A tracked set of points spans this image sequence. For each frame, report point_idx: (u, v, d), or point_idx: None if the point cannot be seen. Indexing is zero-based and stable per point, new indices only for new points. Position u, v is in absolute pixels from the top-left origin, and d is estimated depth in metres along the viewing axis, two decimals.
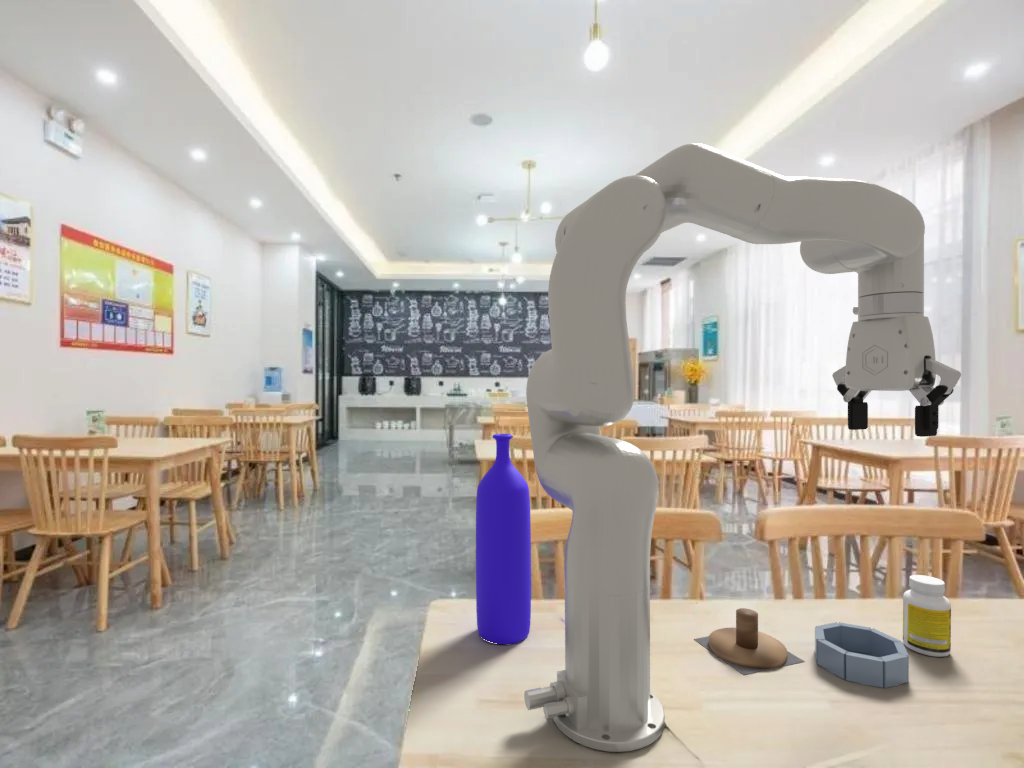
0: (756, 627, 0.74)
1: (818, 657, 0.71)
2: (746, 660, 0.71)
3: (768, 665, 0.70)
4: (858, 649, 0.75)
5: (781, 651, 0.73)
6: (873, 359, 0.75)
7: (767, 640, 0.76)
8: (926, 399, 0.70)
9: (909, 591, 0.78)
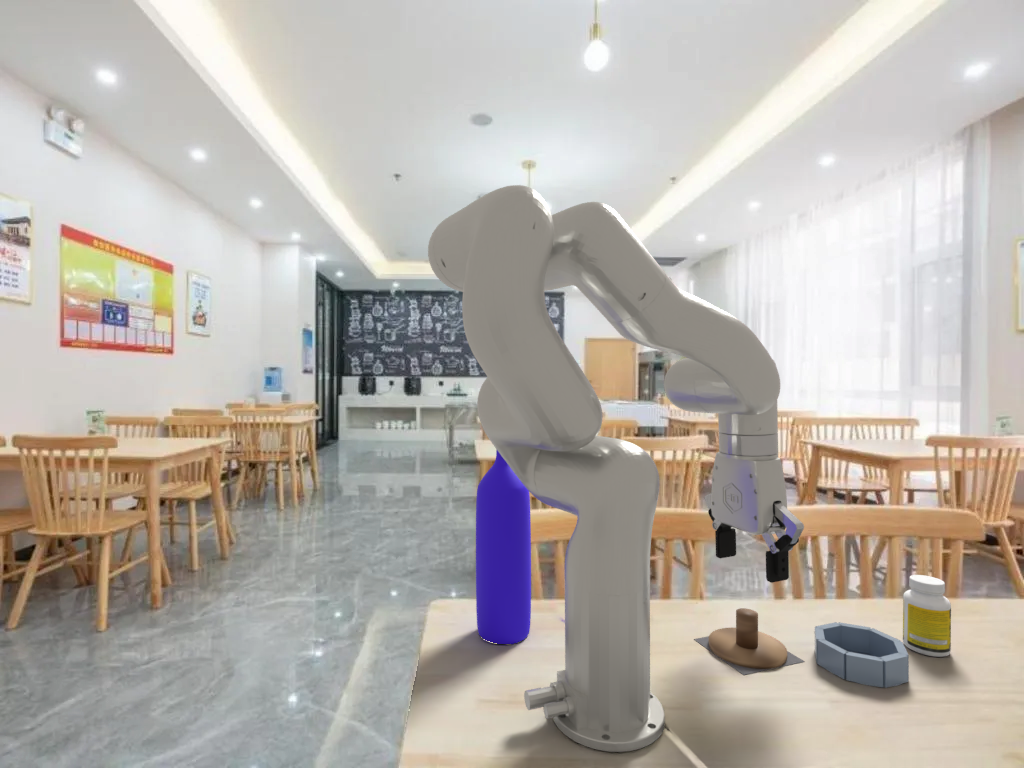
0: (756, 627, 0.74)
1: (818, 657, 0.71)
2: (746, 660, 0.71)
3: (768, 665, 0.70)
4: (858, 649, 0.75)
5: (781, 651, 0.73)
6: (731, 497, 0.75)
7: (767, 640, 0.76)
8: (774, 547, 0.70)
9: (909, 591, 0.78)
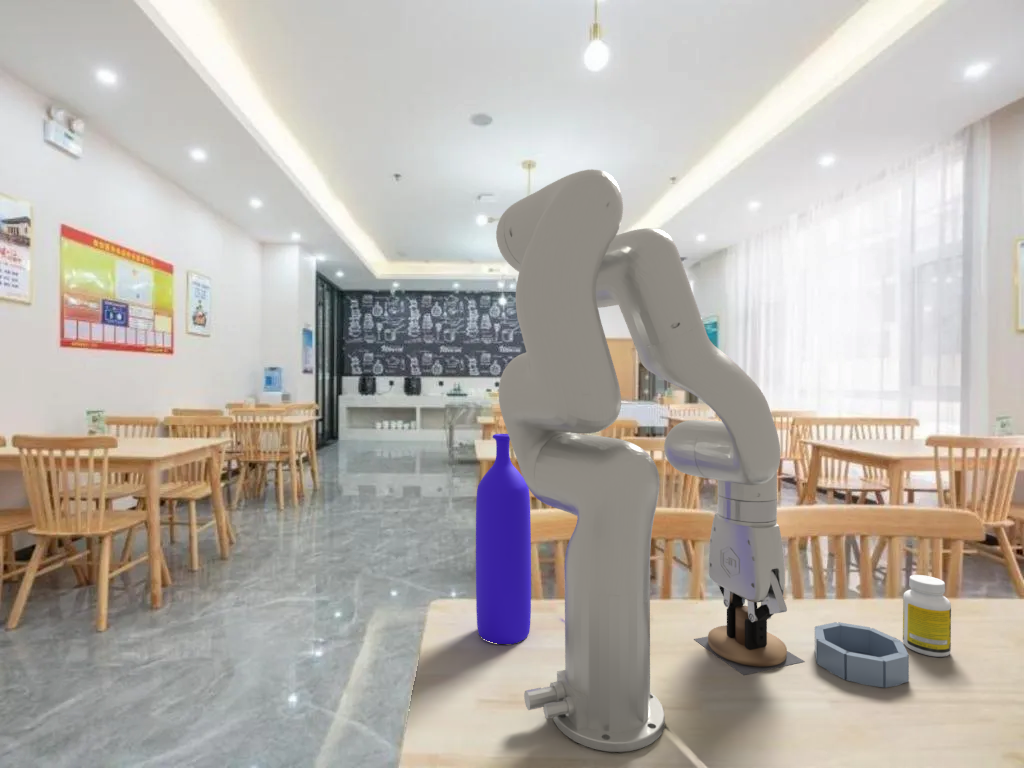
0: None
1: (818, 657, 0.71)
2: (745, 657, 0.71)
3: (767, 662, 0.70)
4: (858, 649, 0.75)
5: (780, 649, 0.73)
6: (728, 561, 0.75)
7: None
8: (753, 617, 0.72)
9: (909, 591, 0.78)
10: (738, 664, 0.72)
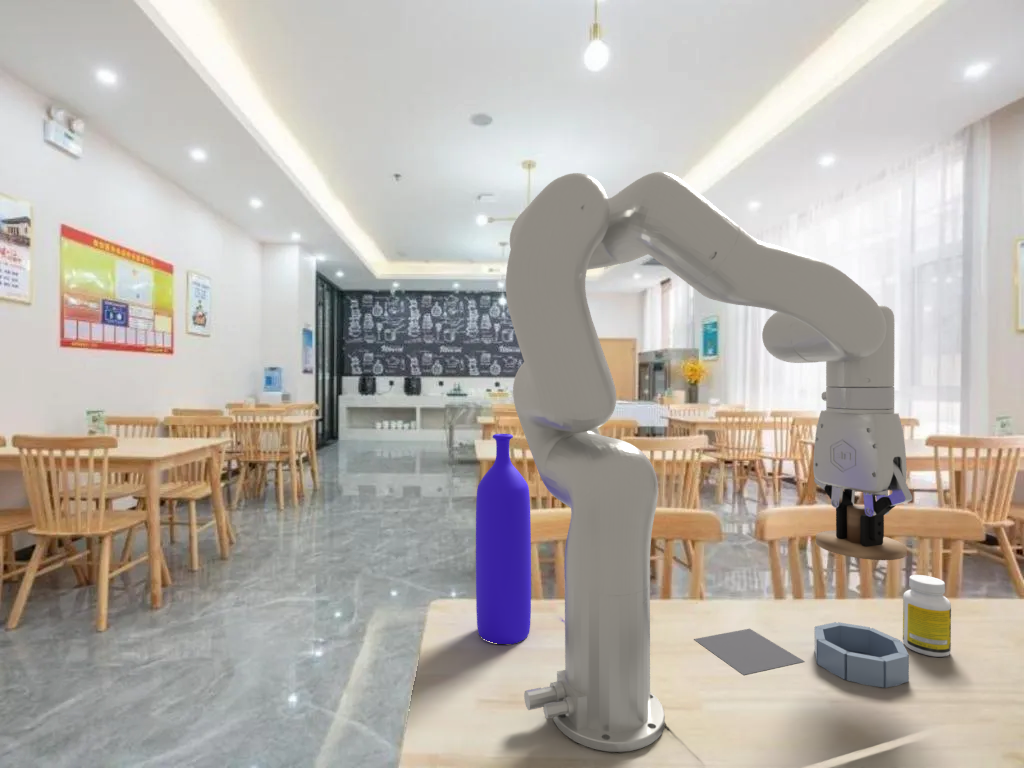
0: None
1: (818, 657, 0.71)
2: (865, 552, 0.67)
3: (890, 556, 0.66)
4: (857, 649, 0.75)
5: (899, 546, 0.69)
6: (841, 455, 0.70)
7: None
8: (872, 511, 0.68)
9: (909, 591, 0.78)
10: (738, 664, 0.72)
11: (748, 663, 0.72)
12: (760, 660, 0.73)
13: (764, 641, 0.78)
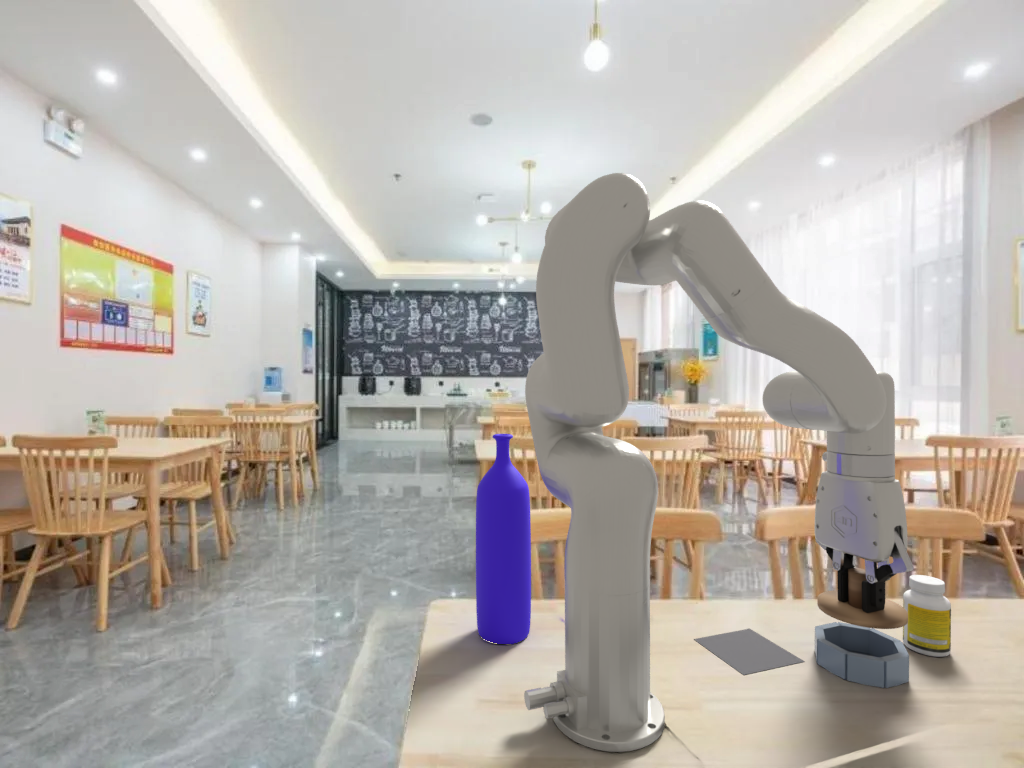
0: None
1: (819, 657, 0.71)
2: (867, 620, 0.67)
3: (892, 625, 0.66)
4: (857, 649, 0.75)
5: (901, 611, 0.69)
6: (842, 520, 0.70)
7: None
8: (873, 578, 0.68)
9: (909, 591, 0.78)
10: (738, 664, 0.72)
11: (748, 663, 0.72)
12: (760, 660, 0.73)
13: (764, 641, 0.78)
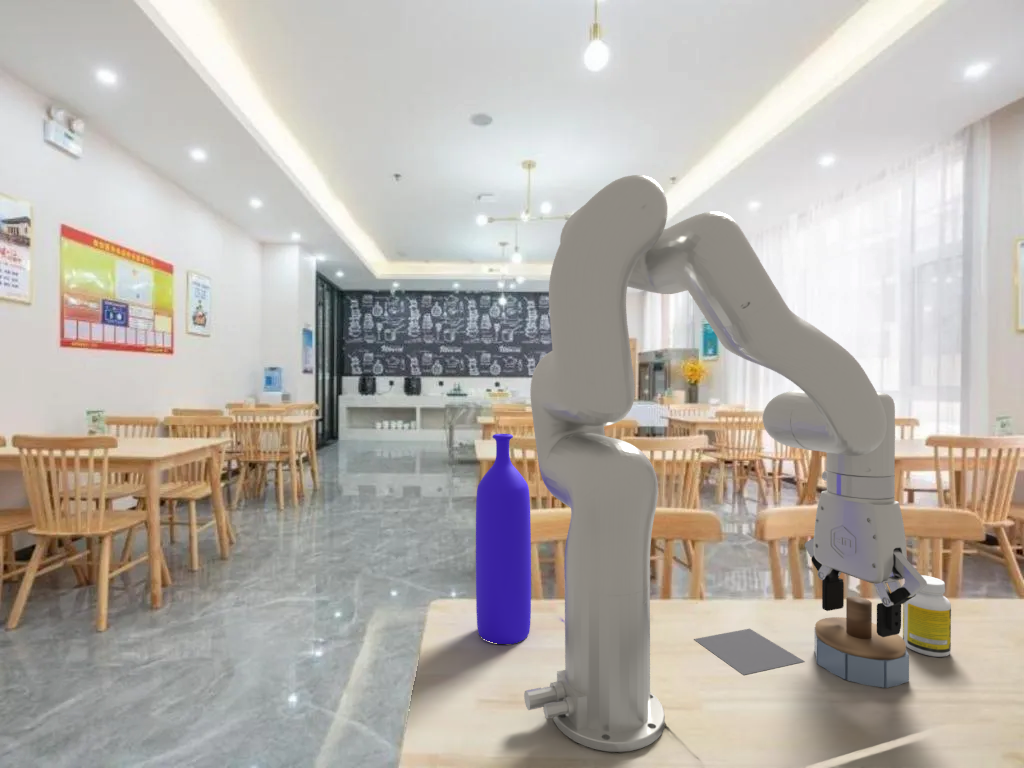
0: (870, 616, 0.70)
1: (819, 657, 0.71)
2: (864, 650, 0.67)
3: (889, 655, 0.66)
4: None
5: (898, 642, 0.69)
6: (841, 541, 0.70)
7: None
8: (888, 600, 0.66)
9: None
10: (738, 664, 0.72)
11: (748, 663, 0.72)
12: (760, 660, 0.73)
13: (764, 641, 0.78)
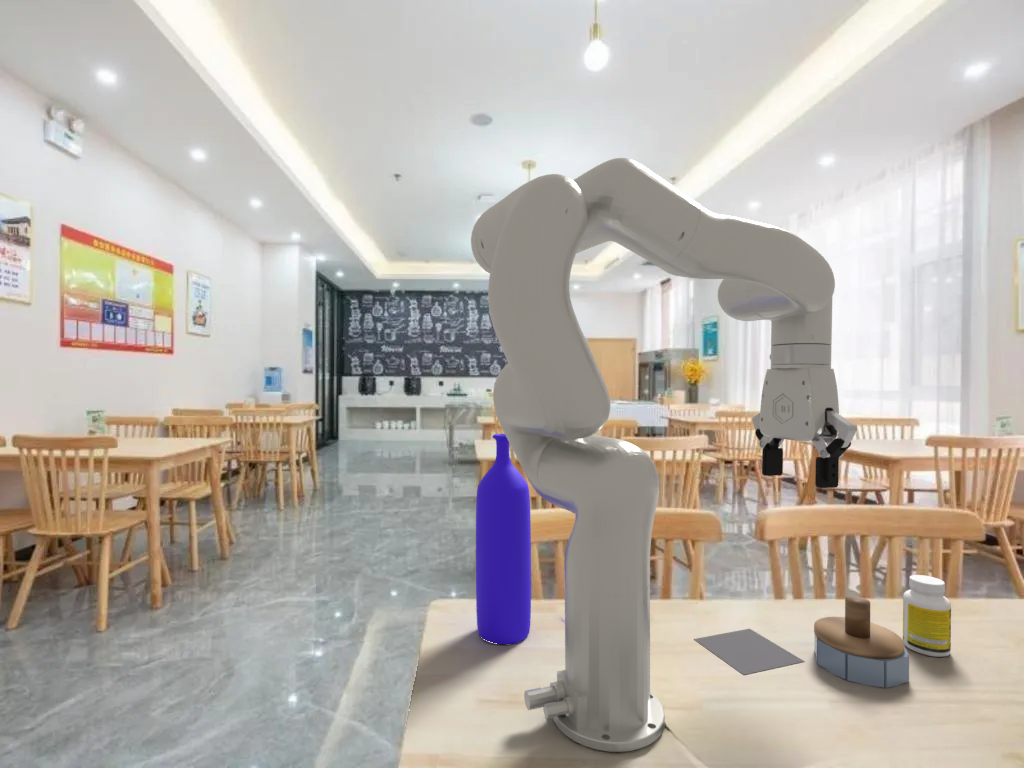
0: (869, 615, 0.70)
1: (819, 657, 0.71)
2: (863, 650, 0.67)
3: (888, 655, 0.67)
4: None
5: (897, 641, 0.69)
6: (781, 408, 0.76)
7: (877, 629, 0.73)
8: (825, 451, 0.70)
9: (909, 591, 0.78)
10: (738, 664, 0.72)
11: (748, 663, 0.72)
12: (760, 660, 0.73)
13: (764, 641, 0.78)
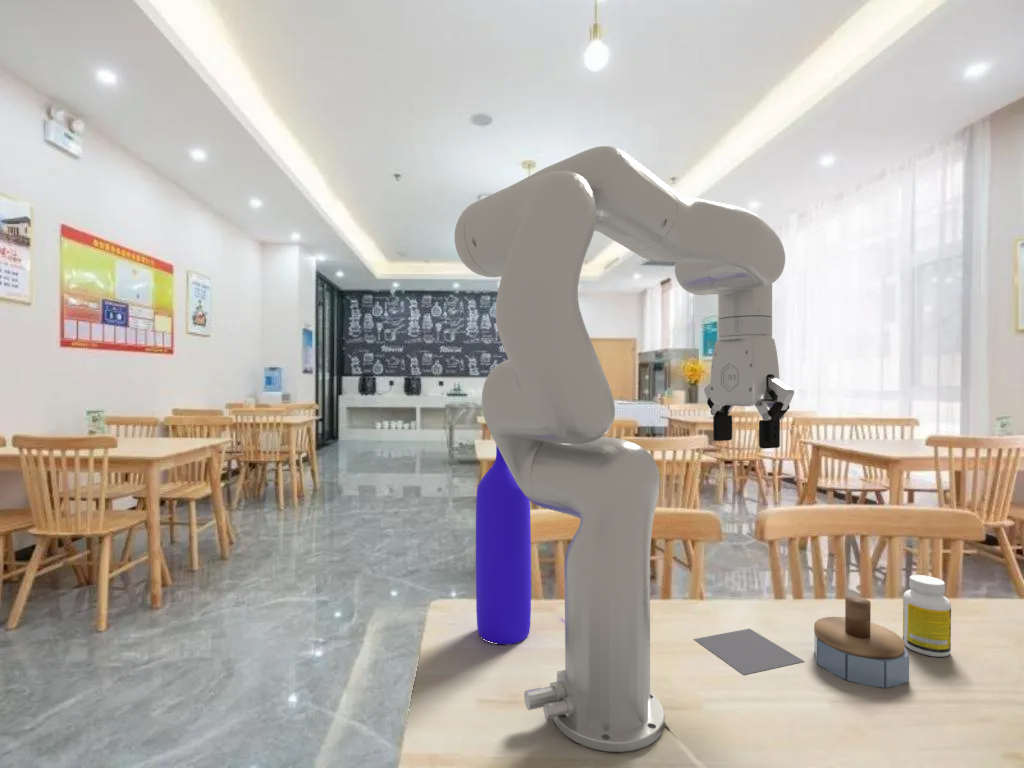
0: (869, 615, 0.70)
1: (819, 657, 0.71)
2: (863, 650, 0.67)
3: (888, 655, 0.67)
4: None
5: (897, 641, 0.69)
6: (728, 377, 0.82)
7: (877, 630, 0.73)
8: (767, 414, 0.77)
9: (909, 591, 0.78)
10: (738, 664, 0.72)
11: (748, 663, 0.72)
12: (760, 660, 0.73)
13: (764, 641, 0.78)
